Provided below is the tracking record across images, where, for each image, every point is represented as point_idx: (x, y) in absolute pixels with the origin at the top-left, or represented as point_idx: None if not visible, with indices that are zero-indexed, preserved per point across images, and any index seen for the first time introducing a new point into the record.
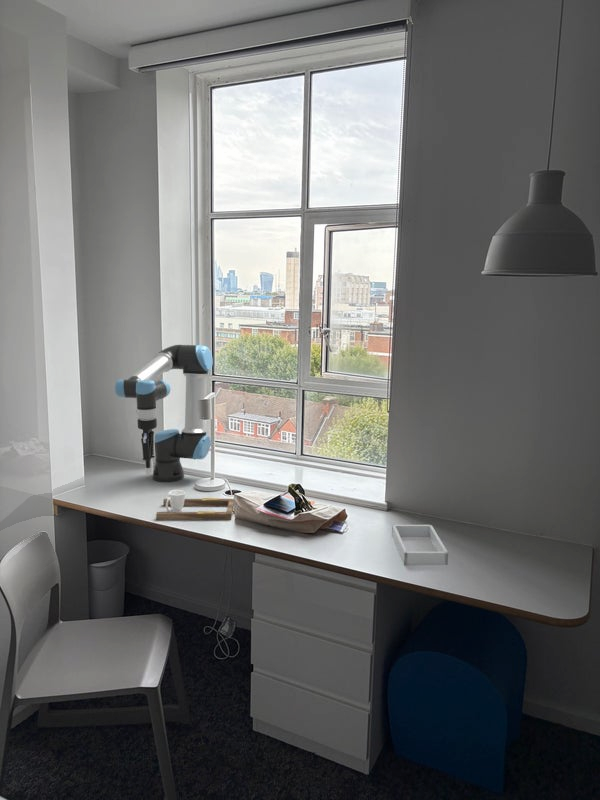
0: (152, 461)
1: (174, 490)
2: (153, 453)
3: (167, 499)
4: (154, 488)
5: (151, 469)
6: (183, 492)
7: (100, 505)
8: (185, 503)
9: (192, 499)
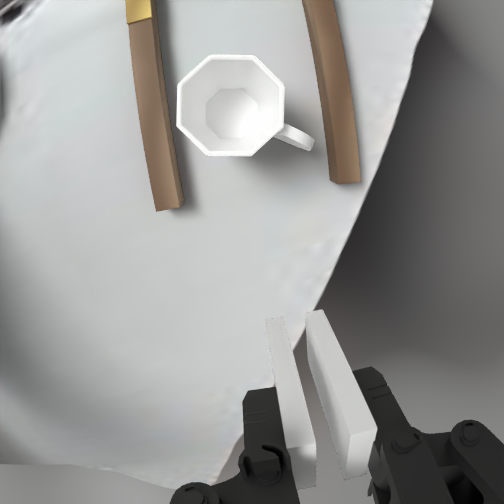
0: (301, 411)
1: (190, 134)
2: (202, 500)
3: (305, 144)
4: (26, 308)
5: (339, 345)
6: (200, 72)
7: (228, 416)
8: (163, 96)
9: (142, 65)
